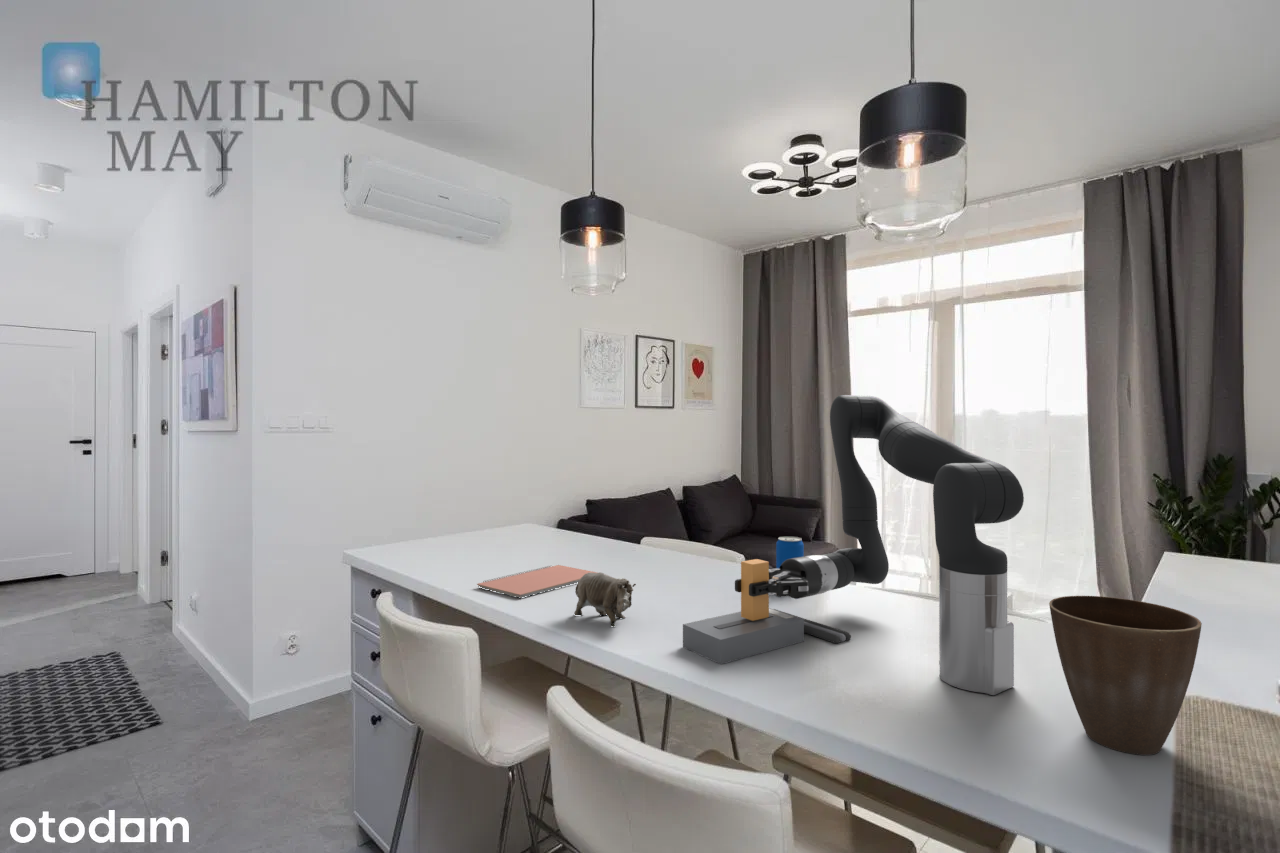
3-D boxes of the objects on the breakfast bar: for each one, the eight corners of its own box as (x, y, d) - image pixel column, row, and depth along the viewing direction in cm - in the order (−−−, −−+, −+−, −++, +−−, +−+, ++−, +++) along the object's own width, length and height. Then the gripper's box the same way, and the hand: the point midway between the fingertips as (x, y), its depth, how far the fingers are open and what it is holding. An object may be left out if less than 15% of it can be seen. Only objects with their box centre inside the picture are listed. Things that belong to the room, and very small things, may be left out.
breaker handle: (768, 617, 115) (768, 561, 115) (752, 620, 112) (752, 564, 112) (757, 613, 117) (756, 559, 117) (741, 616, 115) (741, 561, 115)
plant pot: (1179, 788, 68) (1179, 638, 68) (1028, 734, 80) (1028, 607, 80) (1218, 747, 76) (1217, 614, 77) (1076, 704, 89) (1076, 589, 89)
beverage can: (801, 585, 156) (801, 536, 156) (805, 591, 150) (805, 541, 150) (774, 584, 157) (774, 536, 157) (777, 591, 150) (777, 540, 150)
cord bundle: (852, 640, 115) (852, 632, 115) (816, 651, 110) (816, 643, 110) (774, 614, 131) (774, 607, 131) (738, 622, 126) (738, 615, 126)
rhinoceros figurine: (592, 594, 138) (614, 544, 131) (628, 642, 130) (654, 592, 123) (563, 604, 133) (584, 553, 125) (599, 655, 125) (623, 604, 118)
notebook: (555, 570, 175) (555, 563, 175) (601, 579, 164) (601, 572, 164) (474, 590, 153) (474, 582, 153) (520, 602, 143) (520, 593, 143)
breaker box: (803, 641, 115) (803, 618, 115) (720, 664, 103) (720, 639, 104) (763, 626, 123) (763, 605, 123) (682, 646, 112) (682, 623, 112)
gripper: (781, 550, 129) (716, 560, 119) (838, 562, 117) (772, 574, 107) (781, 587, 129) (716, 600, 119) (838, 603, 117) (772, 619, 107)
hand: (743, 588), depth 113 cm, fingers closed on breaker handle, 3 cm apart
